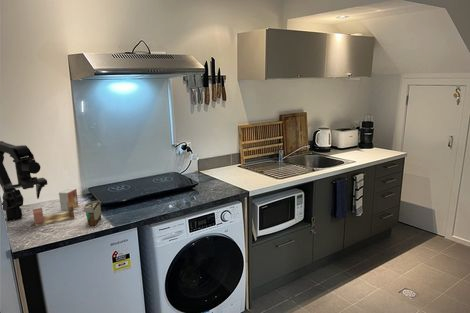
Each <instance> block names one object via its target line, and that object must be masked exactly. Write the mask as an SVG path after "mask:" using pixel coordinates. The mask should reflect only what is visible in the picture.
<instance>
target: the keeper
mask: <svg viewBox="0 0 470 313" xmlns="http://www.w3.org/2000/svg"><path fill="white" fill-rule="evenodd" d="M43 212H44V211H43V208H42V207H40V208H34V209H32V214H33V220H34V225H35V224H37V223H42V222H44V219H43V216H44V213H43Z"/></svg>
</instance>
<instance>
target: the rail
mask: <svg viewBox="0 0 470 313" xmlns="http://www.w3.org/2000/svg"><path fill="white" fill-rule="evenodd" d="M67 207H68V210H67V211H65V212H64V211H63V212H60V213H59V212H58V213H54V214H50V215H49V214H48V215H43V219H44V222H42V223H37V224H35V223H34V227H35V228H37V227H41V226H42V227H43V226H47V225H52V224H56V223H62V222H66V221H67V222H68V221H70V220H76V219H75V212H74V208H73V205H72V203H71V202H68V203H67Z"/></svg>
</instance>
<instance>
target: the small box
mask: <svg viewBox="0 0 470 313" xmlns="http://www.w3.org/2000/svg"><path fill="white" fill-rule="evenodd" d="M58 196H59V202H60V210H61V211H68V207H67V203H68V202H71V203H72V205H73V209H75V208H77V207H79V200H78V193H77V188H66V189H64V190H63V191H60V192H59V193H58Z"/></svg>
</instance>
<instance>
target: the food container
mask: <svg viewBox="0 0 470 313" xmlns="http://www.w3.org/2000/svg"><path fill="white" fill-rule="evenodd" d="M101 204H102V203H101V200H93V201H90V202H88V203H86V204H84V207H83V211H84V212H85V214H86V219H87V225H88V226H89V227H92V226H94V227H95V226H96V225H97V226H98V224H99V223H100V222H101V221H102V210H101V207H102V206H101ZM97 226H96V227H97Z"/></svg>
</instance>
